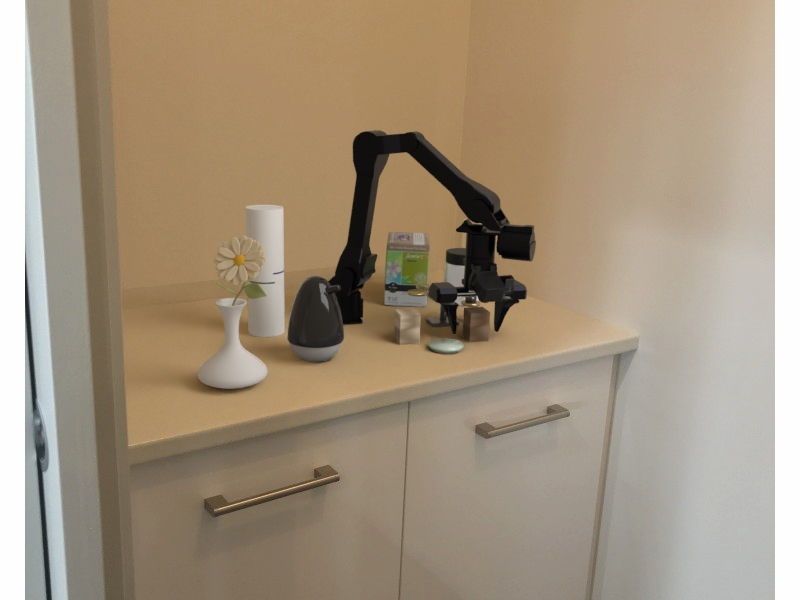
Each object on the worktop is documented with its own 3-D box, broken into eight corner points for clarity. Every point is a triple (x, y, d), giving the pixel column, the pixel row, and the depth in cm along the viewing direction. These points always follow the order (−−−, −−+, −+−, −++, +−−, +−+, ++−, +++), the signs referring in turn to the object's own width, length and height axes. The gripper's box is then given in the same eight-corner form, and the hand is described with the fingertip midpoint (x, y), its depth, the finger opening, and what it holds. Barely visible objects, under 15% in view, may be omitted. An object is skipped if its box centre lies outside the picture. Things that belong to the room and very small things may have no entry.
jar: (456, 308, 176) (459, 256, 173) (435, 299, 183) (437, 249, 179) (486, 303, 181) (490, 252, 178) (465, 295, 187) (468, 246, 184)
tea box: (427, 307, 176) (430, 243, 172) (383, 306, 176) (385, 242, 172) (426, 291, 190) (428, 231, 186) (385, 289, 190) (387, 230, 186)
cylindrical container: (291, 332, 155) (291, 207, 149) (263, 339, 150) (261, 211, 144) (269, 324, 160) (268, 203, 153) (241, 331, 155) (238, 206, 148)
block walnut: (469, 342, 152) (471, 313, 151) (462, 336, 156) (463, 307, 155) (488, 341, 154) (490, 312, 152) (480, 335, 157) (482, 306, 156)
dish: (434, 355, 144) (435, 350, 144) (424, 344, 150) (424, 339, 150) (468, 353, 146) (468, 348, 146) (456, 342, 152) (456, 337, 152)
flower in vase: (182, 384, 126) (175, 233, 120) (231, 365, 136) (227, 224, 129) (242, 403, 120) (238, 244, 113) (289, 381, 129) (288, 233, 123)
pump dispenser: (321, 371, 134) (322, 286, 130) (275, 359, 140) (274, 277, 136) (355, 355, 143) (357, 275, 139) (311, 344, 148) (311, 267, 144)
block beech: (399, 345, 150) (400, 315, 148) (394, 338, 153) (395, 309, 152) (419, 343, 151) (420, 314, 149) (413, 337, 154) (414, 308, 153)
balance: (409, 328, 160) (411, 287, 158) (404, 322, 164) (405, 282, 162) (481, 324, 165) (484, 284, 162) (474, 318, 168) (477, 280, 166)
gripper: (448, 266, 140) (444, 348, 145) (542, 263, 146) (535, 342, 150) (429, 254, 151) (426, 330, 155) (517, 251, 156) (512, 325, 160)
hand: (475, 332), depth 155 cm, fingers open, 9 cm apart
